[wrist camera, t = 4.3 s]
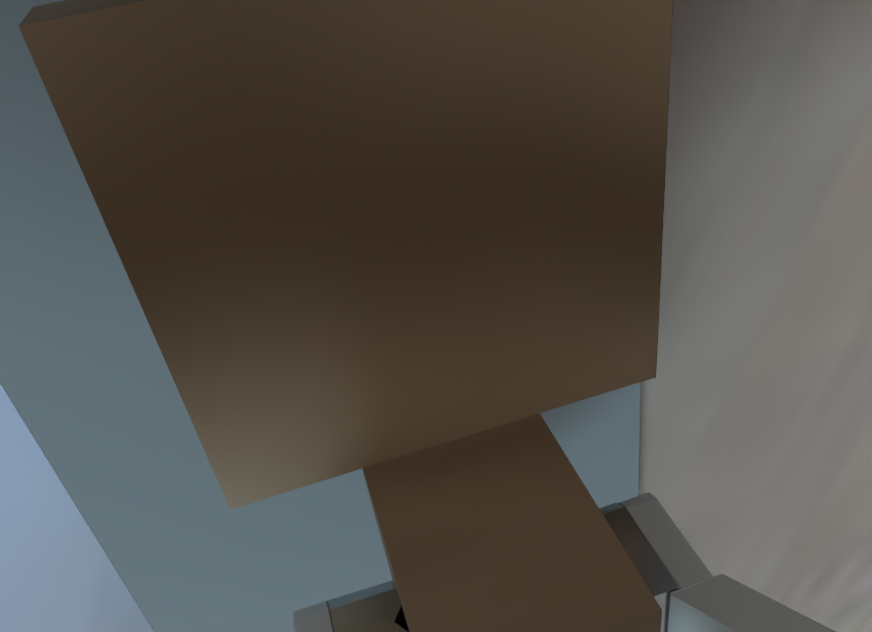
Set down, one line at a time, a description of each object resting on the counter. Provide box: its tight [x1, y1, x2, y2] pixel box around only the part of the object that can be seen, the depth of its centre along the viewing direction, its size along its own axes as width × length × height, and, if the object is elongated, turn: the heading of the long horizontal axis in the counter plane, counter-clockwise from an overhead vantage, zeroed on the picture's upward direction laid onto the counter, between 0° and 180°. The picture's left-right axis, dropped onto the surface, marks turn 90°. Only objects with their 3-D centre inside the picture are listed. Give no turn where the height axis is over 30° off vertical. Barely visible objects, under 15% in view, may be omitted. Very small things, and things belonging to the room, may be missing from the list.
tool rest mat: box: [0, 0, 640, 632], centre depth 15 cm, size 12×20×1 cm, turn 8°
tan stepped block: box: [18, 0, 673, 632], centre depth 10 cm, size 14×6×4 cm, turn 8°
